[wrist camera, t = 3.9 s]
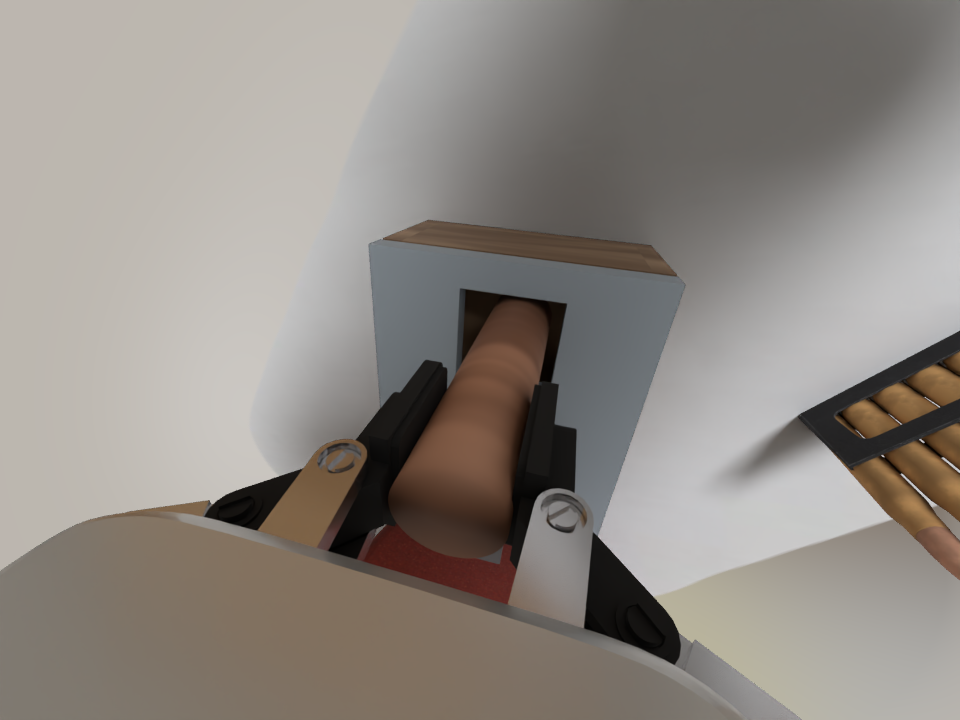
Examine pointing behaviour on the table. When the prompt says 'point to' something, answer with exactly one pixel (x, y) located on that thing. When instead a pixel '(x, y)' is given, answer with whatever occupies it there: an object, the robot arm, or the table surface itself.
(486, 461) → the brown rounded cylinder
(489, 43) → the table surface
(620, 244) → the brown hollow box
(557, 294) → the toolbox lid
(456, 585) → the plant pot
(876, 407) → the ammunition clip
